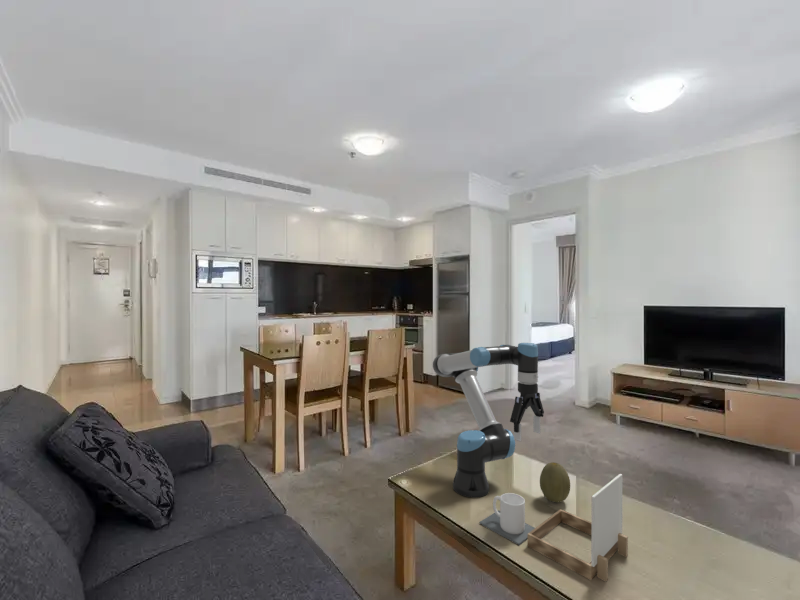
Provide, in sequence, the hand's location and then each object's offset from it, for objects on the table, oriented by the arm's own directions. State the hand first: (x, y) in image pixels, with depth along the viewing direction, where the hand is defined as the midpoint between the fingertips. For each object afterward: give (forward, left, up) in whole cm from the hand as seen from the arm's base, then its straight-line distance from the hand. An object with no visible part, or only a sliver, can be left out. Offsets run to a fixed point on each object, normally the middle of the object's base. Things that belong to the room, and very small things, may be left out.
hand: (527, 436), depth 150 cm
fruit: (+6, +11, -27) cm, 30 cm away
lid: (+35, -12, -27) cm, 46 cm away
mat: (+4, -19, -27) cm, 33 cm away
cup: (+4, -19, -26) cm, 33 cm away
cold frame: (+24, -12, -27) cm, 38 cm away
